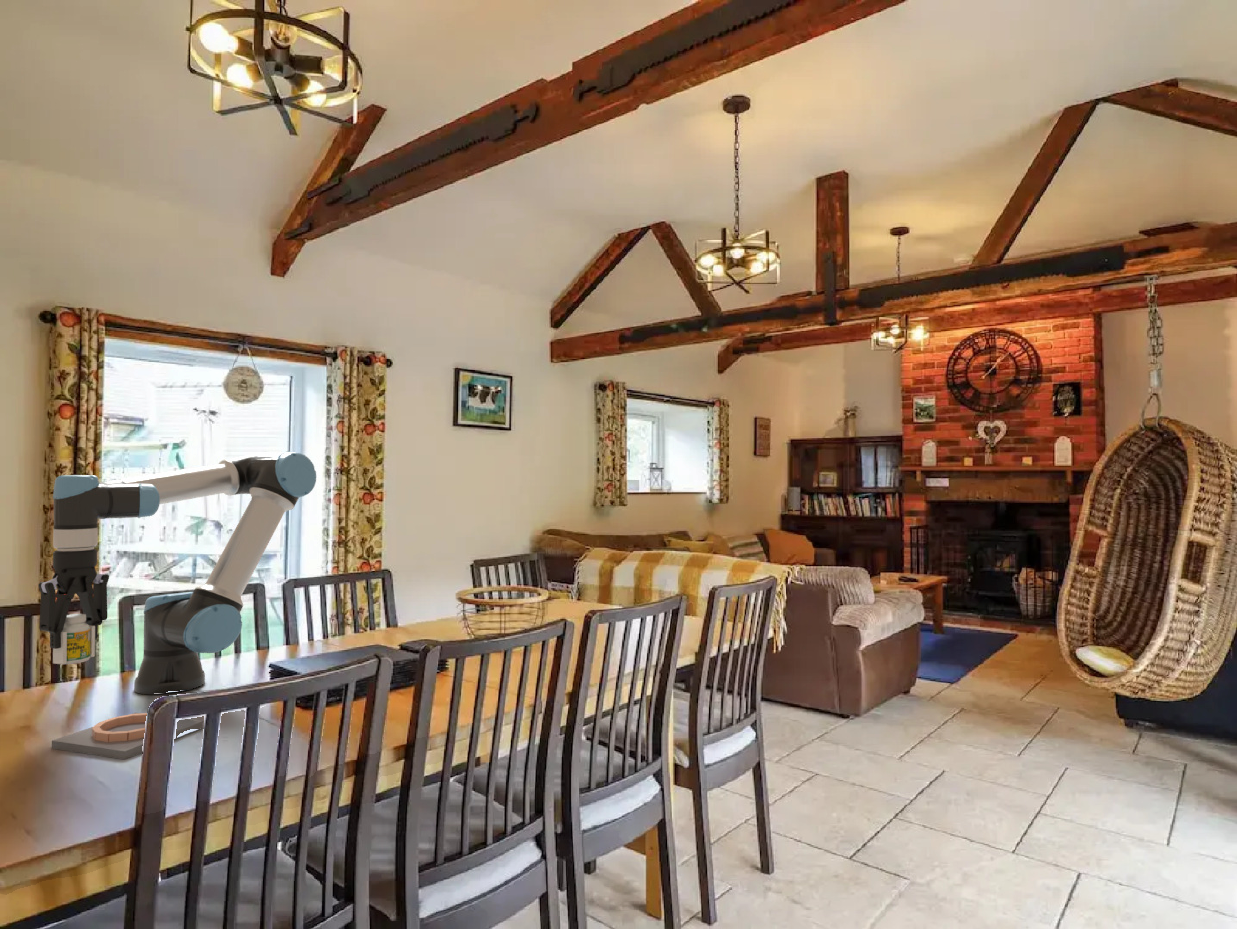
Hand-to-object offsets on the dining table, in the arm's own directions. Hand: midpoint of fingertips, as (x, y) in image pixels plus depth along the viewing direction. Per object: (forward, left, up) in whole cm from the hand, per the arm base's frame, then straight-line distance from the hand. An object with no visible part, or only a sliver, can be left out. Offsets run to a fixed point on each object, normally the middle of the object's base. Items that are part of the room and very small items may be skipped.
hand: (74, 659), depth 156 cm
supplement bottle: (0, 0, -1) cm, 1 cm away
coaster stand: (+1, +17, -14) cm, 22 cm away
